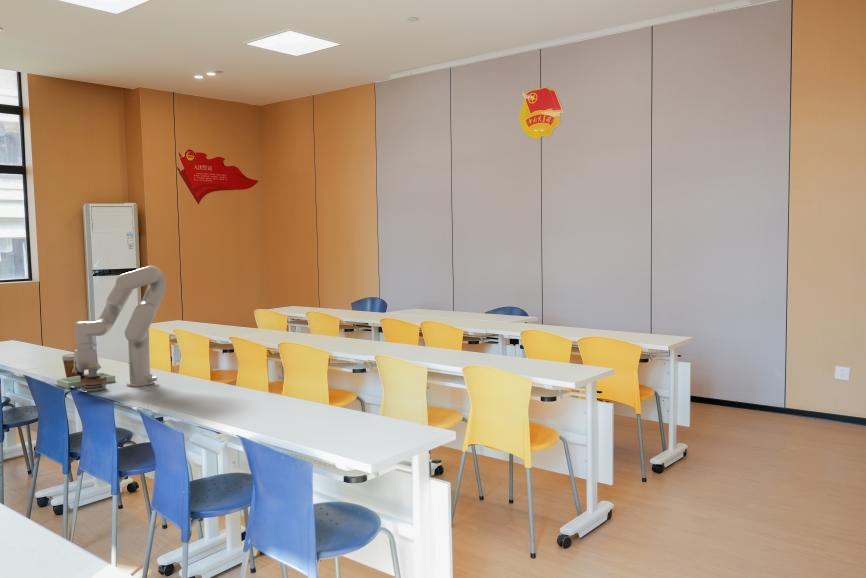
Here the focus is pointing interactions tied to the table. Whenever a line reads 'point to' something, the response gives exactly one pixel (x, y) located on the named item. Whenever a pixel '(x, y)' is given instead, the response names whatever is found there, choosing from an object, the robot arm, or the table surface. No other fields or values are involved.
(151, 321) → the robot arm
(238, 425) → the table surface
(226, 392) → the table surface
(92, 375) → the post
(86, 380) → the ring
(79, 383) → the tray
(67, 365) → the disposable coffee cup
